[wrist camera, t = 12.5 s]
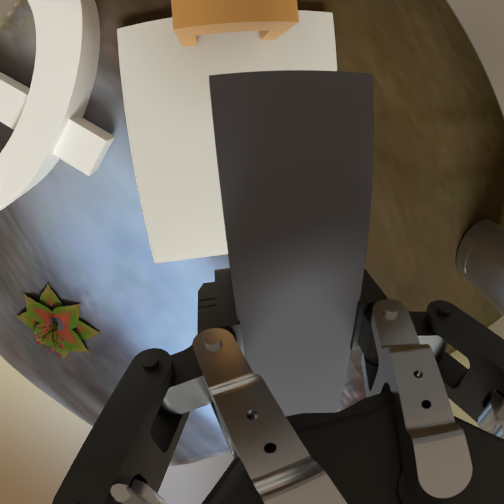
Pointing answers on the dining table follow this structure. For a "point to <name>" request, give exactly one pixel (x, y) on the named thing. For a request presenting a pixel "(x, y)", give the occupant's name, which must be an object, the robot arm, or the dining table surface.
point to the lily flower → (48, 332)
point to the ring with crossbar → (53, 100)
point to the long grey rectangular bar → (296, 221)
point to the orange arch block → (232, 18)
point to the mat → (196, 119)
